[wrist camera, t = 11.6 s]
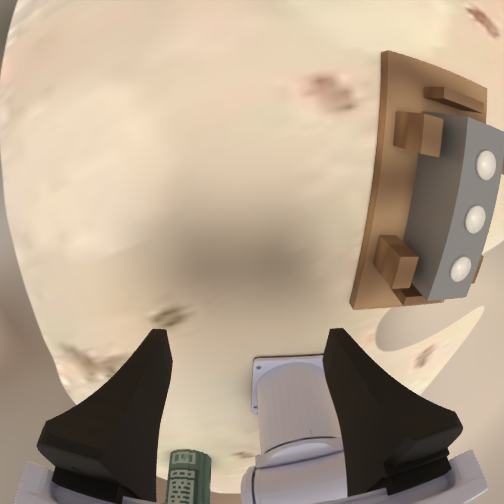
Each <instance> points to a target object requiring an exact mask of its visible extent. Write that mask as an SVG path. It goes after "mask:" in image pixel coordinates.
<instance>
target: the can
mask: <svg viewBox="0 0 504 504" xmlns="http://www.w3.org/2000/svg"><path fill="white" fill-rule="evenodd" d="M210 480H211V458H210V457H209V456H208V455H207V454H204V453H203V452H199V451H195V450H194V451H190V450H177V451H173V452H172V453H171V456H170V464H169V472H168V481H167V490H166V500H165V504H210Z"/></svg>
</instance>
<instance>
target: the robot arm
mask: <svg viewBox="0 0 504 504" xmlns="http://www.w3.org/2000/svg"><path fill="white" fill-rule="evenodd" d="M172 363H173V360H172V356H171V351H170V346H169V341H168V336H167V331H166V330H165V329H152V330H151V331H150V333H149V334H148V335H147V337H146V338H145V339H144V341H143V342H142V343H141V344H140V346H139V347H138V348H137V349H136V351H135V352H134V353H133V354H132V356H131V357H130V358H129V359H128V360H127V361H126V363H125V364H124V365H123V366H122V367H121V368H120V369H119V370H118V371H117V372H116V373H115V374H114V375H113V376H112V377H111V378H110V379H109V380H108V381H107V382H106V383H105V384H104V385H103V386H102V387H101V388H99V389H98V390H97V391H96V392H94V393H93V394H92V395H91V396H89V397H88V398H87V399H85V400H84V401H82V402H81V403H79V404H78V405H76V406H75V407H73V408H71V409H70V410H68V411H66V412H64V413H63V414H61V415H59V416H56V417H55V418H53V419H50V420H48V421H46V423H45V425H44V427H43V429H42V432H41V435H40V438H39V440H38V443H37V448H38V450H39V451H40V453H41V454H42V455H43V456H44V457H46V458H47V459H48V460H49V461H50V462H51V463H52V464H53V465H55V466H56V467H55V471H54V472H53V471H52V470H50V469H48V468H46V467H43V466H41V465H39V464H36V463H34V462H32V461H29V460H28V461H27V463H26V466H25V469H24V472H23V475H22V478H21V481H20V484H19V488H18V491H17V495H16V498H15V501H14V503H15V504H163V503H156V464H157V449H158V438H159V428H160V423H161V418H162V414H163V410H164V405H165V401H166V397H167V393H168V389H169V385H170V380H171V372H172ZM258 366H259V367H258ZM251 412H252V413H253V414H258V415H259V429H260V443H261V455H257V456H255V458H256V466H251V467H249V468H248V470H247V471H246V473H245V474H244V476H243V478H242V482H241V500H242V504H466V503H467V502H469V501H471V500H472V499H474V498H476V497H477V496H479V495H480V494H482V493H483V492H485V491H486V490H488V485H487V482H486V480H485V477H484V475H483V473H482V470H481V468H480V466H479V464H478V461H477V459H476V457H475V454H474V452H473V450H469V451H467V452H465V453H462V454H460V455H458V456H456V457H454V458H453V459H451V460H449V461H448V459H447V456H448V455H449V451H448V447H449V445H451V444H452V443H453V442H454V440H456V438H457V437H458V436H459V435H460V434H461V432H462V430H463V426H462V424H461V422H460V420H459V418H458V416H457V414H456V413H455V412H454V411H451V410H449V409H446V408H443V407H441V406H438V405H436V404H434V403H432V402H430V401H428V400H426V399H424V398H423V397H421V396H419V395H417V394H416V393H414V392H412V391H411V390H409V389H408V388H406V387H405V386H403V385H402V384H401V383H399V382H398V381H397V380H395V379H394V378H393V377H391V376H390V375H389V374H388V373H387V372H385V371H384V370H383V369H382V368H381V367H380V366H379V365H378V364H377V363H376V362H374V361H373V360H372V359H371V358H370V357H369V356H368V355H367V354H366V353H365V351H364V350H363V349H362V348H361V347H360V346H359V345H358V344H357V343H356V342H355V341H354V340H353V339H352V337H351V336H350V335H349V334H348V333H347V332H346V331H345V330H344V329H343V328H336V329H330V331H329V335H328V339H327V343H326V347H325V351H324V355H318V356H302V357H280V358H257V359H255V360H254V362H253V382H252V402H251Z"/></svg>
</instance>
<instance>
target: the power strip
mask: <svg viewBox="0 0 504 504" xmlns="http://www.w3.org/2000/svg"><path fill="white" fill-rule="evenodd" d="M422 113H423V114H427V115H431V116H434V117H438V118H441V119H443V130H442V140H441V149H440V156H439V157H435V156H430V155H425V154H420V153H418V160H417V168H416V174H415V181H414V187H413V193H412V199H411V204H410V209H409V214H408V219H407V224H406V229H405V233H404V238H403V242H404V243H405V244H406V245H407V246H408V247H409V248H410V249H411V250H412V251H413V252H414V253H415V254H416V255H417V256H418V257H419V258H418V262H417V265H416V269H415V272H414V276H413V279H412V284H413V285H414V286H415V287H416V288H417V289H418V291H419V292H420V293H421V294H422V296H423V297H424V298H425V299H426V300H427V301H434V300H444V299H453V298H462V297H466V296H467V293H468V291H469V288H470V285H471V283H472V280H473V278H474V275H475V272H476V269H477V266H478V263H479V261H480V258H481V254H482V251H483V248H484V245H485V242H486V238H487V235H488V231H489V228H490V224H491V220H492V216H493V212H494V208H495V203H496V199H497V194H498V189H499V184H500V178H501V172H502V166H503V159H504V132H503V131H501V130H499V129H496V128H494V127H492V126H490V125H487V124H485V123H482V122H480V121H477V120H475V119H472V118H470V117H466V116H459V115H452V114H444V113H435V112H425V111H422Z"/></svg>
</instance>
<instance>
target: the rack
mask: <svg viewBox="0 0 504 504" xmlns="http://www.w3.org/2000/svg"><path fill="white" fill-rule="evenodd" d="M486 110H487V88H485V87H483V86H481V85H479V84H477V83H475V82H472V81H470V80H468V79H466V78H464V77H461V76H459V75H457V74H455V73H452V72H450V71H447V70H445V69H442V68H440V67H437V66H435V65H432V64H429V63H426V62H424V61H421V60H418V59H415V58H412V57H409V56H406V55H402V54H399V53H396V52H392V51H389V50H387V51H384V52H382V63H381V97H380V114H379V128H378V139H377V150H376V159H375V168H374V176H373V183H372V191H371V197H370V204H369V210H368V217H367V222H366V228H365V234H364V239H363V244H362V250H361V255H360V259H359V264H358V269H357V274H356V278H355V282H354V287H353V291H352V295H351V299H350V304H351V306H352V308H353V310H358V309H374V308H387V307H400V306H411V305H421V304H432V303H442V302H444V300H445V299H444V300H434V301H427V300H426V299H425V298H424V297H423V296H422V294H421V293H420V292H419V291H418V289H417V288H416V287H415V286H414V285H413V284H412V279H413V276H414V272H415V269H416V265H417V262H418V258H419V257H418V256H417V255H416V254H415V253H414V252H413V251H412V250H411V249H410V248H409V247H408V246H407V245H406V244H405V243H404V242H403V238H404V233H405V229H406V224H407V219H408V214H409V209H410V204H411V199H412V193H413V187H414V181H415V174H416V168H417V160H418V153H420V154H425V155H430V156H435V157H439V156H440V149H441V140H442V130H443V119H441V118H438V117H434V116H431V115H427V114H423V113H422V111H425V112H435V113H444V114H452V115H459V116H466V117H470V118H472V119H475V120H477V121H480V122H482V123H485V124H486ZM501 174H504V159H503V166H502V172H501ZM482 260H483V256H482V255H481V258H480V261H479V263H478V266H477V269H476V272H475V275H474V278H473V280H472V283H475V280H476V277H477V275H478V272H479V269H480V266H481V263H482ZM472 283H471V284H472Z"/></svg>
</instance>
